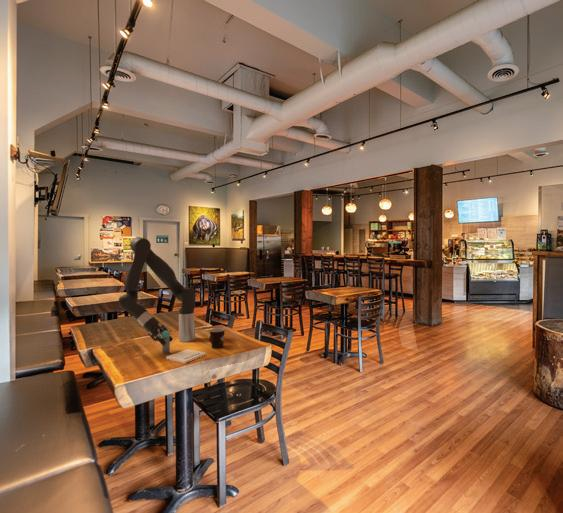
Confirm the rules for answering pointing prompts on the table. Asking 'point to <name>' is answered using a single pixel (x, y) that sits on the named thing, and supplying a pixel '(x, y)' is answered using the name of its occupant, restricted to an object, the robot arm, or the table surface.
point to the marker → (167, 339)
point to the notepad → (185, 356)
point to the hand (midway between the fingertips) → (168, 342)
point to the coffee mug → (217, 338)
